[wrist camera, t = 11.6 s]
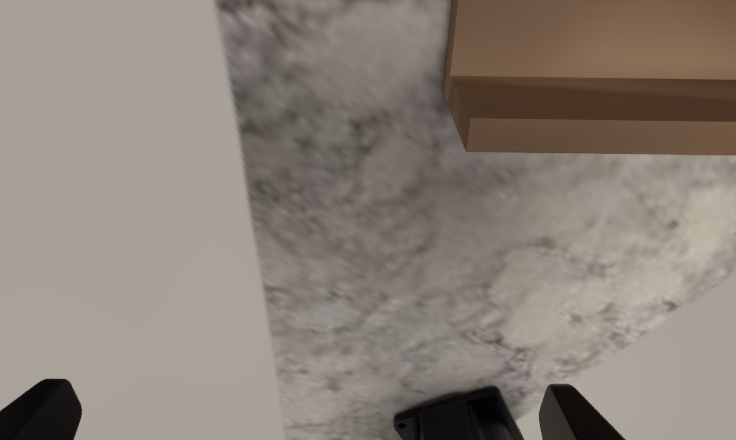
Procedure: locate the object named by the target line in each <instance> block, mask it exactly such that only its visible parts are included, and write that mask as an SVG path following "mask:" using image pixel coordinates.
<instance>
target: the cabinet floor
mask: <svg viewBox="0 0 736 440" xmlns="http://www.w3.org/2000/svg"><path fill="white" fill-rule="evenodd" d="M443 94H444V97H445V99H446V102H447V104H448V107H449V109H450V112H451V115H452V117H453V120H454V122H455V125H456V127H457V130H458V132H459V135H460V137H461V140H462V142H463V145H464V148H465V150H466V152H526V153H600V154H675V155H736V0H452V7H451V17H450V28H449V38H448V48H447V58H446V68H445V78H444V88H443Z"/></svg>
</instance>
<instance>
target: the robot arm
mask: <svg viewBox="0 0 736 440" xmlns="http://www.w3.org/2000/svg"><path fill="white" fill-rule="evenodd" d="M81 415H82V408H81V404H80V402H79V400H78V397H77V395H76V393H75V391H74V389H73V387H72V385H71V383H70V382H69V381H68V380H66V379H45V380H42V381H40V382H39V383H37V384H36V385H34V386H33V387H32V388H30V389H29V390H28V391H26V392H25V393H24V394H22V395H21V396H20V397H18V398H17V399H16V400H14V401H13V402H12V403H10V404H9V405H8V406H6V407H5V408H4V409H2V410H1V411H0V440H74V437H75V434H76V431H77V429H78V425H79V423H80V420H81ZM393 422H394V428H395V430H396V431H397V432H398V434H399V435H400V436H401V438H402V439H403V440H524V438H523V436H522V434H521V432H520V430H519V428H518V426H517V424H516V422H515V420H514V418H513V416H512V414H511V412H510V410H509V408H508V406H507V404H506V402H505V400H504V398H503V396H502V394H501V392H500V391H499V390H498V389H494V388H492V389H487V390H484V391H480V392H477V393H473V394H470V395H466V396H463V397H459V398H456V399H452V400H449V401H445V402H442V403H438V404H435V405H431V406H428V407H424V408H421V409H417V410H414V411H410V412H407V413H403V414H400V415H397V416H395V417H394V420H393ZM539 422H540V428H541V433H542V438H543V440H625V439H624V438H623V437H622V436H621V435H620V434H619V433H618V432H617V430H615V428H614V427H613V426H612V425H611V424H610V423H609V422H608V421H607V420H606V419H605V418H604V417H603V416H602V415H601V414H600V413H599V412H598V411H597V410H596V409H595V408H594V407H593V406H592V405H591V404H590V403H589V402H588V401H587V400H586V399H585V398H584V397H583V396H582V395H581V394H580V393H579V392H578V391H577V389H576V388H574V387H573V386H572V385H569V384H550V385H549V386H548V387H547V389H546V392H545V395H544V398H543V401H542V404H541V407H540V411H539Z"/></svg>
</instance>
